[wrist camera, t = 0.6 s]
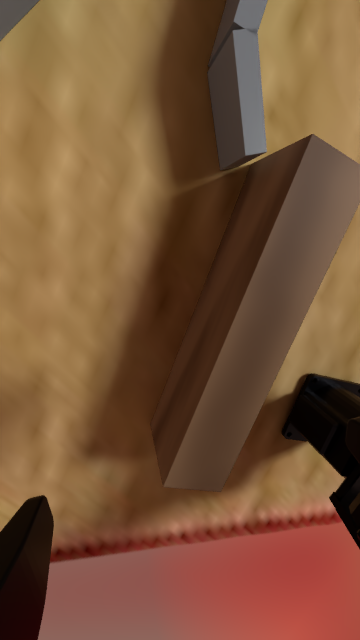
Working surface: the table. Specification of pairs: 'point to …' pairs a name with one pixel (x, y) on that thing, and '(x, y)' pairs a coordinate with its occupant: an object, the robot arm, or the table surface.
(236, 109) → the grey stepped block
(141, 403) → the table surface
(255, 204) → the walnut slat
